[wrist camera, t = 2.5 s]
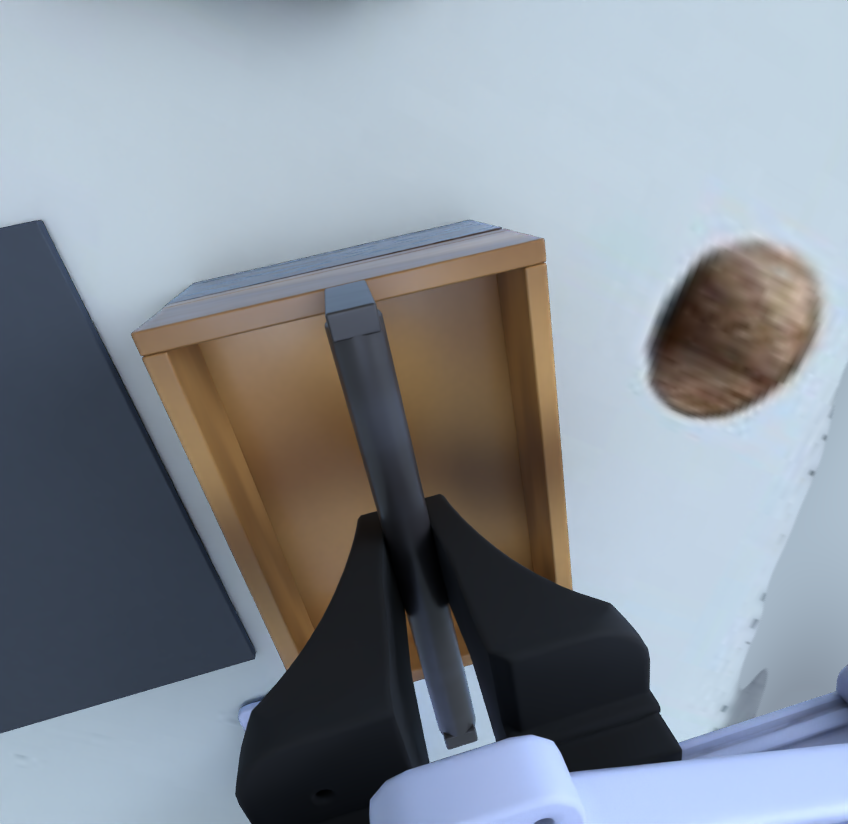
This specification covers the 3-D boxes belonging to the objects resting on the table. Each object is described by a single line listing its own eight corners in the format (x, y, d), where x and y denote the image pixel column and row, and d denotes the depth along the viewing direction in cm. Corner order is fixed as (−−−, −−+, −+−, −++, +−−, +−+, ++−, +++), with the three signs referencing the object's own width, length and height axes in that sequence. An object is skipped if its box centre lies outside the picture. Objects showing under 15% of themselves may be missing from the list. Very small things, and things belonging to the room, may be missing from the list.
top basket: (544, 576, 21) (613, 698, 16) (308, 644, 20) (304, 796, 15) (505, 227, 15) (597, 250, 10) (165, 305, 14) (80, 371, 9)
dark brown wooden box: (515, 524, 24) (544, 575, 21) (310, 582, 23) (308, 644, 20) (471, 219, 18) (502, 226, 15) (192, 283, 17) (163, 305, 14)
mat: (256, 652, 24) (255, 659, 24) (-24, 733, 23) (-30, 742, 23) (42, 219, 16) (35, 220, 15) (-421, 317, 15) (-439, 320, 14)
